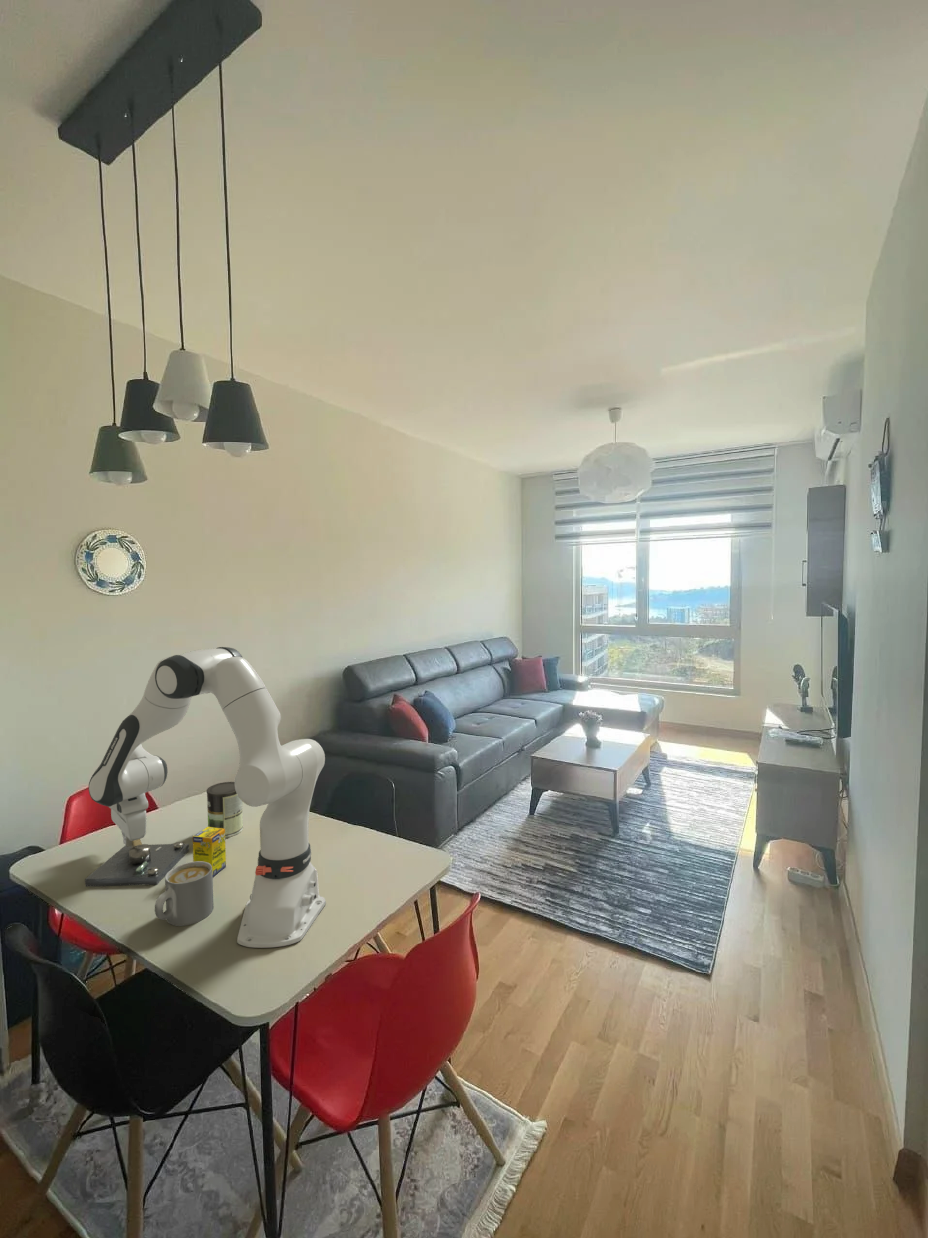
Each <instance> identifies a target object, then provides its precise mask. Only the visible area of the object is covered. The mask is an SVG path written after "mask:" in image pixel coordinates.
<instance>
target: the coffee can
mask: <svg viewBox="0 0 928 1238" xmlns="http://www.w3.org/2000/svg"><path fill="white" fill-rule="evenodd" d="M206 797H207V798H206V801H207V802H206V805H207V808H206V809H207V827H213V828H222V829H225V839H227V838H232V837H234V836H237V835H239V834H241V833H242V832H243V830H244V825H243V824H244V822H243V821H244V820H243V818H244V815H243V814H244V813H243V801H242V800H241V799H240V798H239V797H238V795H237V793H236V790H235V781H224V782H219V783H215V784H213V785H210V786H209V787H207V788H206Z"/></svg>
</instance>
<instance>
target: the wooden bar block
mask: <svg viewBox="0 0 928 1238" xmlns="http://www.w3.org/2000/svg"><path fill="white" fill-rule="evenodd" d="M150 845H151V844H146V843H144V844H143V842H142V841H141V839H138V840H134V841H132V846H131V847H132V848H131V849H130V850H129V861H130V863H131V864H139V863H143V862H145V861H147V860H149V859H150V858H151V851H150Z"/></svg>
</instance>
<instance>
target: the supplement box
mask: <svg viewBox="0 0 928 1238" xmlns="http://www.w3.org/2000/svg"><path fill="white" fill-rule="evenodd" d="M226 849H227V848H226V838H225V829H222V828H213V827H208V826H207V827H205V828H204V829H202V830H200V831H199V832H197V833H196V834H194V835H192V862H196V861H203V862H207V863H209V864H211V866H212V875H213V878H214V877H215V876H216V875H217V874H218V873H220V872H221V871H222V870H224V869H225V868H226V867H227V861H226V860H227V858H226V857H227V855H226V853H227V852H226Z"/></svg>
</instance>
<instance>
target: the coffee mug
mask: <svg viewBox="0 0 928 1238" xmlns="http://www.w3.org/2000/svg"><path fill="white" fill-rule="evenodd" d="M213 878H214V877H213V875H212V866H211V864H209V863H207V862H203V861H196V862H193V861H189V862H185V863H182V864H179V865H176V866H174V867H173V868H172V869H171V870H170V871H169V872H168V873H167V874H166V876H165V877H164V884H165V885H164V887H165V889H164V890H165V891H163V892H161V894H160V895H159V896H158V897H157V898H156V900H155V904H154V913H155V916H156V918H158V919H160V920H162V921H163V920H164V921H165V920H166V922H167V923H168V924H169V925H171V926H176V927H184V926H189V925H190V926H191V925H194V924H196V923H198V922H200V921H203V920H205V919H206V918H207V917H209V916H210V915H211V914H212V913H213V911H214V884H213V883H214V882H213V881H214V880H213ZM164 904H165V909H166V910H165V911H164Z"/></svg>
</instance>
